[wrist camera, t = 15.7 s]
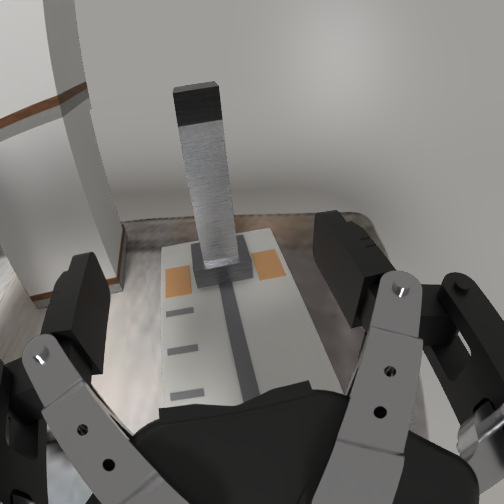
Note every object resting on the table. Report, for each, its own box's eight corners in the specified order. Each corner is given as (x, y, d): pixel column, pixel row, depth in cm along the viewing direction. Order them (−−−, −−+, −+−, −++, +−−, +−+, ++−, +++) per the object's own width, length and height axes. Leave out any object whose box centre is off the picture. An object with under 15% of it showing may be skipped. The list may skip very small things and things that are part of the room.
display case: (127, 237, 41) (72, -26, 20) (122, 291, 33) (40, -48, 11) (55, 254, 39) (-14, 12, 18) (37, 308, 31) (-63, 12, 10)
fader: (197, 288, 28) (157, 97, 18) (194, 260, 31) (160, 89, 21) (253, 277, 29) (235, 84, 19) (244, 251, 32) (226, 78, 22)
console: (190, 536, 14) (179, 535, 12) (166, 265, 36) (161, 246, 34) (372, 494, 15) (383, 488, 14) (270, 245, 37) (269, 226, 36)
